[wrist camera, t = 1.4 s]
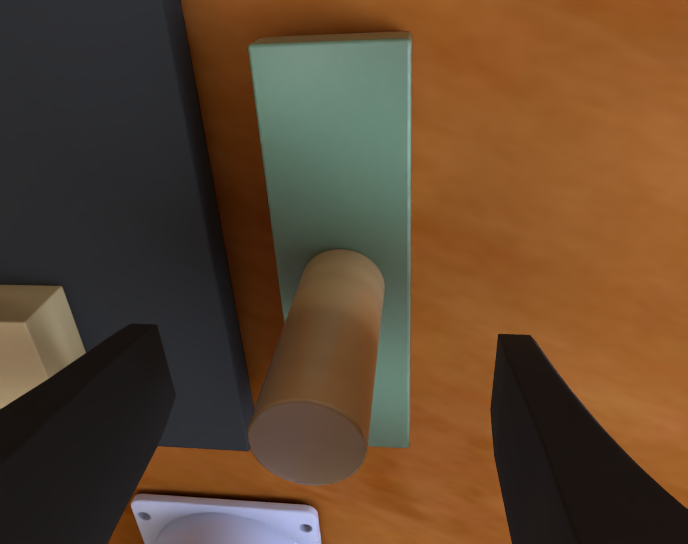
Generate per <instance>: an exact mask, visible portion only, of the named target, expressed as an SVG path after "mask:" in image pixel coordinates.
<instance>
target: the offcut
mask: <svg viewBox="0 0 688 544" xmlns="http://www.w3.org/2000/svg"><path fill="white" fill-rule="evenodd" d="M85 353H86V352H85V349H84V346H83V343H82V340H81V338H80V335H79V332H78V329H77V326H76V324H75V321H74V318H73V315H72V312H71V310H70V307H69V304H68V301H67V298H66V296H65V293H64V290H63V287H62V286H41V285H0V409H1V408H3V407H5V406H6V405H8V404H9V403H11V402H12V401H14V400H16V399H17V398H19V397H20V396H22V395H23V394H25V393H27V392H28V391H30V390H31V389H33V388H35V387H36V386H38V385H39V384H41V383H42V382H44V381H46V380H47V379H49V378H50V377H51V376H53V375H54V374H56V373H57V372H59V371H60V370H62V369H63V368H65V367H66V366H68V365H69V364H70V363H72V362H73V361H75V360H76V359H78V358H79V357H81V356H82V355H84V354H85Z"/></svg>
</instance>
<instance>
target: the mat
mask: <svg viewBox="0 0 688 544" xmlns="http://www.w3.org/2000/svg"><path fill="white" fill-rule="evenodd" d="M0 285H41V286H62V287H63V290H64V293H65V296H66V298H67V301H68V304H69V307H70V310H71V312H72V315H73V318H74V321H75V324H76V326H77V329H78V332H79V335H80V338H81V340H82V343H83V346H84V349H85V352H88V351H89V350H91V349H92V348H94V347H95V346H97V345H98V344H100V343H101V342H102V341H104V340H105V339H107V338H108V337H110V336H111V335H113V334H114V333H116V332H117V331H119V330H121V329H122V328H124V327H126V326H127V325H129V324H157V326H158V330H159V333H160V337H161V341H162V344H163V348H164V352H165V356H166V359H167V363H168V367H169V370H170V374H171V378H172V381H173V385H174V389H175V392H176V398H175V401H174V404H173V407H172V410H171V413H170V416H169V419H168V422H167V424H166V427H165V430H164V432H163V435H162V438H161V440H160V442H159V444H158V446H166V447H183V448H201V449H219V450H236V451H249V450H250V446H249V442H248V435H247V433H248V426H249V423H250V420H251V417H252V414H253V411H254V407H253V402H252V396H251V391H250V385H249V380H248V374H247V369H246V363H245V357H244V352H243V346H242V341H241V335H240V330H239V324H238V319H237V313H236V308H235V302H234V297H233V291H232V285H231V280H230V274H229V269H228V263H227V258H226V252H225V247H224V241H223V236H222V230H221V224H220V219H219V213H218V208H217V202H216V197H215V191H214V186H213V180H212V175H211V169H210V164H209V158H208V152H207V147H206V141H205V136H204V130H203V125H202V119H201V114H200V108H199V103H198V97H197V92H196V86H195V80H194V75H193V69H192V64H191V58H190V53H189V47H188V42H187V36H186V31H185V25H184V20H183V14H182V8H181V3H180V0H0Z"/></svg>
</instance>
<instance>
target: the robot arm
mask: <svg viewBox="0 0 688 544" xmlns="http://www.w3.org/2000/svg"><path fill="white" fill-rule="evenodd" d="M175 398H176V392H175V389H174V385H173V381H172V378H171V374H170V370H169V367H168V363H167V359H166V356H165V352H164V348H163V344H162V341H161V337H160V333H159V330H158V326H157V324H129V325H127V326H126V327H124V328H122V329H121V330H119V331H117V332H116V333H114V334H113V335H111V336H110V337H108V338H107V339H105V340H104V341H102V342H101V343H100V344H98V345H97V346H95V347H94V348H92V349H91V350H89V351H88V352H86V353H85V354H84V355H82V356H81V357H79V358H78V359H76V360H75V361H73V362H72V363H70V364H69V365H68V366H66V367H65V368H63V369H62V370H60V371H59V372H57V373H56V374H54V375H53V376H51V377H50V378H49V379H47V380H46V381H44V382H42V383H41V384H39V385H38V386H36V387H35V388H33V389H31V390H30V391H28V392H27V393H25V394H23V395H22V396H20V397H19V398H17V399H16V400H14V401H12V402H11V403H9V404H8V405H6V406H5V407H3V408H1V409H0V544H108V542H109V540H110V538H111V536H112V533H113V531H114V529H115V527H116V525H117V523H118V522H119V520H120V518H121V516H122V514H123V512H124V510H125V508H126V506H127V504H128V502H129V500H130V498H131V497H132V495H133V493H134V491H135V489H136V487H137V485H138V483H139V481H140V479H141V477H142V475H143V473H144V471H145V470H146V468H147V466H148V464H149V462H150V460H151V458H152V456H153V454H154V452H155V450H156V448H157V446H158V444H159V442H160V440H161V438H162V435H163V432H164V430H165V427H166V424H167V422H168V419H169V416H170V413H171V410H172V407H173V404H174V401H175ZM491 423H492V435H493V447H494V457H495V462H496V467H497V472H498V477H499V482H500V487H501V492H502V497H503V502H504V507H505V511H506V516H507V521H508V526H509V531H510V536H511V541H512V544H688V509H687V508H686V507H684V506H683V505H682V504H681V503H679V502H678V501H677V500H676V499H675V498H674V497H673V496H671V495H670V494H669V493H668V492H667V491H666V490H664V489H663V488H662V487H661V486H660V485H659V484H658V483H657V482H656V481H655V480H654V479H653V478H651V477H650V476H649V475H648V474H647V473H646V472H645V471H644V470H643V469H642V468H641V467H640V466H639V465H638V464H637V463H636V462H635V461H634V460H633V459H632V458H631V457H630V456H629V455H628V454H627V453H626V452H625V451H624V450H623V449H622V448H621V447H620V446H619V445H618V444H617V443H616V442H615V440H614V439H613V438H612V437H611V436H610V435H609V434H608V433H607V432H606V431H605V430H604V429H603V427H602V426H601V425H600V424H599V423H598V422H597V421H596V419H595V418H594V417H593V416H592V415H591V414H590V412H589V411H588V410H587V409H586V408H585V406H584V405H583V404H582V403H581V402H580V400H579V399H578V398H577V397H576V395H575V394H574V393H573V392H572V391H571V389H570V388H569V387H568V385H567V384H566V383H565V382H564V380H563V379H562V378H561V376H560V375H559V374H558V372H557V371H556V370H555V368H554V367H553V365H552V364H551V363H550V361H549V360H548V359H547V357H546V356H545V354H544V353H543V351H542V350H541V348H540V347H539V346H538V344H537V343H536V341H535V340H534V339H533V338H532V337H531V336H530V335H515V334H498V342H497V351H496V361H495V371H494V380H493V390H492V400H491ZM131 508H132V511H133V514H134V516H135V519H136V522H137V524H138V527H139V530H140V532H141V535H142V538H143V541H144V543H145V544H322V543H321V535H320V527H319V518H318V513H317V510H315V509H314V508H313V507H311V506H309V505H302V504H287V503H273V502H258V501H244V500H229V499H214V498H200V497H185V496H170V495H156V494H138V495H135V497H134V499H133V501H132V502H131Z"/></svg>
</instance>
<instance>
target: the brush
mask: <svg viewBox="0 0 688 544" xmlns="http://www.w3.org/2000/svg"><path fill="white" fill-rule="evenodd" d="M248 53H249V61H250V68H251V76H252V84H253V91H254V99H255V106H256V114H257V122H258V129H259V137H260V145H261V152H262V160H263V167H264V175H265V183H266V190H267V198H268V206H269V213H270V221H271V228H272V236H273V244H274V251H275V259H276V267H277V274H278V282H279V289H280V297H281V305H282V312H283V320H284V327H283V330H282V332H281V335H280V338H279V341H278V344H277V347H276V349H275V352H274V355H273V358H272V361H271V363H270V366H269V369H268V372H267V375H266V378H265V380H264V383H263V386H262V389H261V392H260V395H259V397H258V400H257V403H256V406H255V409H254V411H253V414H252V417H251V420H250V423H249V426H248V433H247V435H248V442H249V446H250V449H251V451H252V453H253V454H254V456H255V457H256V459H257V460H258V461H259V462H260V463H261V464H262V465H263V466H264V467H265V468H266V469H268V470H269V471H270V472H272V473H274V474H275V475H277V476H279V477H281V478H283V479H286V480H288V481H292V482H295V483H299V484H305V485H328V484H333V483H337V482H340V481H342V480H345V479H346V478H348V477H350V476H351V475H353V474H354V473H355V472H356V471H357V470H358V469H359V468H360V467H361V465H362V464H363V462H364V460H365V458H366V454H367V447H368V446H375V447H393V448H408V447H409V440H410V326H411V157H412V34H411V33H410V32H404V31H397V32H372V33H347V34H322V35H297V36H281V37H260V38H259V39H257V40H255V41H254V42H252V43H251V44H249V46H248Z"/></svg>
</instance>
